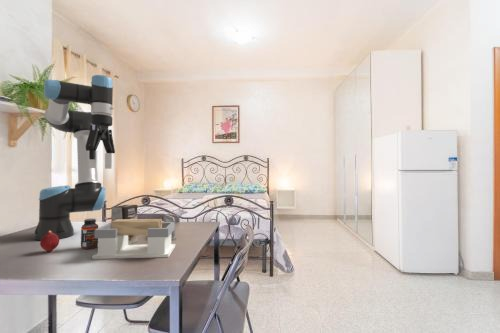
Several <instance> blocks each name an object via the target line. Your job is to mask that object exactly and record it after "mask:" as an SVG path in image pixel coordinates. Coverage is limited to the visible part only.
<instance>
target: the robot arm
mask: <svg viewBox="0 0 500 333" xmlns="http://www.w3.org/2000/svg"><path fill="white" fill-rule="evenodd" d="M90 84H91V85H85V84H80V83H74V82H68V81H61V80H58V79H45V80H44V85H43V96H44V98H45V99H48V108H46V110H45V112H44V119H45V121H46V122H47V123H48V125H50V126H51V127H52V128H54V129H55V130H58V131H59V132H63V133H72V135H73V137H74V138H75V139H76V146H77V147H76V148H77V149H76V150H77V152H76V153H77V178H78V179H77V182H76V183H75V184H74V187H73V188H71V185H60V186H59V185H57V186H51V187H45V188H42V189H41V190H40V192H39V198H38V201H39V203H38V205H39V206H38V207H39V208H38V213H39V214H38V223H37V225H36V228H35V230H34V233H33V240H36V241H41V239H42V238H43V237H44V236H45V235H46V234H48V231H51V232H52V233H54V234H56V235H57V236H58V238H59V240H60V239H65V238H69V237H72V236H73V235H74V234H75V229H74V227H73V224H72V222H71V219H70V216H71V215H70V213H83V212H94V211H96V212H97V211H101V210H102V209H103V207H104V205H105V200H106V193H107V192H106V191H107V190H106V187H104V186H102V183H101V182H100V181H99V178H98V150H97V149H98V147H99V144H100V143H101V142H102V144H103V147H104V150H105V153H104V169H105V170H107V169H108V170H109V169H112V170H113V154H115V153H116V149H115V144H114V138H113V130H112V129H109V127H112V126H113V117H112V116H113V110H114V107H113V101H114V100H113V96H114V93H113V92H114V91H113V90H114V82H113V79H112V78H111V77H110V76H108V75H102V74H94V75H92V76H91V82H90ZM71 103H76V104H84V105H90V111H81V110H73V109H70V106H71Z"/></svg>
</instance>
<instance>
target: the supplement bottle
mask: <svg viewBox="0 0 500 333" xmlns="http://www.w3.org/2000/svg"><path fill="white" fill-rule="evenodd" d="M96 220H97V219H96V218H85V219H84V224H82V226H81V232H80V248H81V249H83V250H90V249H91V250H92V249H95V248H98V238H95V229H98V228H99V225H98V223H96V222H97V221H96Z"/></svg>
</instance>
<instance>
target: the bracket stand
mask: <svg viewBox="0 0 500 333" xmlns="http://www.w3.org/2000/svg"><path fill="white" fill-rule="evenodd" d="M174 228H175V229H176V221H175V222H164V221H162V228H148V235H147V243H145V244H144V243H143V244H130V245H128V235H117V229H111V222H109V223H107V224H105V225H102V226H101V227H98V229H95V238H98V246H97V252H96V253H95V254H93V255H92V259H91V260H104V259H106V260H107V259H139V258H140V259H141V258H142V259H143V258H144V259H145V258H146V259H147V258H169V257H170V255H171V254H172V252H173V251H174V250H175V247H176V243H172V240H171V233H172V232H173V231H174Z"/></svg>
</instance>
